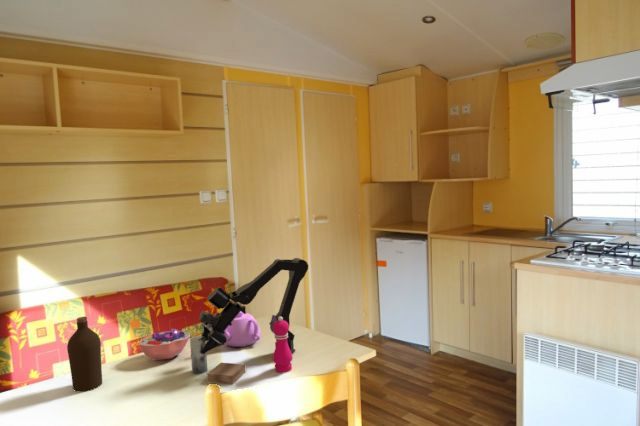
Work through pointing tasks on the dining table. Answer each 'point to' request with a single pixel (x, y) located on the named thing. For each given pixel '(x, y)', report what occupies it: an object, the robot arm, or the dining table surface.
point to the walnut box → (226, 373)
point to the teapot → (242, 331)
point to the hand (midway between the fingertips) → (199, 349)
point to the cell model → (164, 344)
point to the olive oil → (85, 357)
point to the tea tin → (198, 355)
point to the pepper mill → (282, 347)
